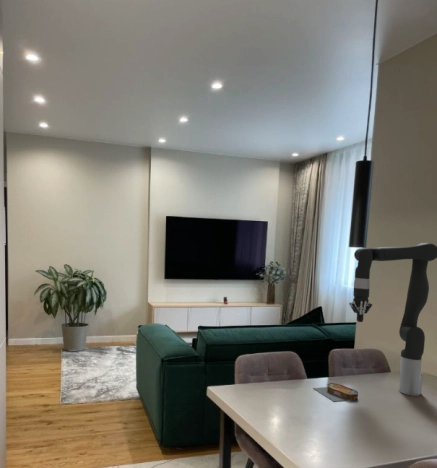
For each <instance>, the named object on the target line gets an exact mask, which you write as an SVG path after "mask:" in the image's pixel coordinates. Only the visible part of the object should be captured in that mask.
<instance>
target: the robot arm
mask: <svg viewBox="0 0 437 468" xmlns="http://www.w3.org/2000/svg"><path fill="white" fill-rule="evenodd" d="M353 256H354V259H355V260H356V261H357V266H356V267H355V269H354V281H353V294H352V295H353V299H352V300H353V301H352V302H349V307H350V308H351V310H352V311H353V314H354V313H355V314H356V321H357V323H363V322H364V316H365V315H366V314H368V313H369V311H370V309H371V308H372V306H373V303H370V302H369V300H370V299H369V297H370V287H371V286H370V285H371V283H370V281H371V280H370V275H371V274H370V273H371V272H370V271H371V267H372V264H373V262H374V261H376V262H386V261H387V262H388V261H389V262H391V261H401V260H412V265H411V272H410V276H409V282H408V289H407V292H406V301H405V306H404V310H403V312H404V313H403V316H402V319H401V323H400V327H399V331H398V332H399V338H400V339H401V340H402V341H403V342H405V344H404V345H405V346H404V349H402V350H401V351H400V364H399V365H400V369H399V370H400V371H399V389H398V390H399V391H398V392H400V393H403V394H404V395H408V396H412V397H415V396H416V397H417V396H420V395H422V391H423V390H422V387H423V374H422V358H423V355H424V351H425V341H426V337H425V336H426V335H425V331H424V330H423V329H422V328H421V327H419V326H418V321H419V316H420V314H421V312H422V311H423V309H424V308H425V306H426V304H427V301H428V296H429V293H430V292H429V291H430V282H429V279H428V274H427V269H428V264H429V262H432V261H434V260H436V259H437V245H436V244H434V243H431V242H421V243H418V244H416V245H413V246H383V247H381V246H380V247H373V248H372V247H360V248H357V249H356V250H355V252H354V255H353Z"/></svg>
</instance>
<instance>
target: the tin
mask: <svg viewBox="0 0 437 468" xmlns="http://www.w3.org/2000/svg"><path fill="white" fill-rule="evenodd" d="M326 387H327V390H328V391H329V392H330V393H332V394H335V395H337V396H340V397H342V398H345V399H349V400H350V401H355V400H354V399H356V400H357V399H358V397H359V392H358V390H356V389H354V388H350V387H348V386H345V385H344V384H343V385H342V384H340V383H334V382H330V383H328V384H327V385H326Z"/></svg>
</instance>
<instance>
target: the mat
mask: <svg viewBox="0 0 437 468" xmlns="http://www.w3.org/2000/svg"><path fill="white" fill-rule="evenodd" d="M312 389H313V390H314V389H315V391H316V392H317V393H319V394H321V395H322V396H324V397H325V398H327V399H329V400H331V401H332V402H333V403H336V402H349V401H350V402H351V400H349V399H345V398H342V397H340V396H337V395H335V394H332V393H330V392H329V391H328V390H327V386H323V387H322V386H321V387H313V388H312ZM356 400H357V399H354V400H353V401H356Z"/></svg>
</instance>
